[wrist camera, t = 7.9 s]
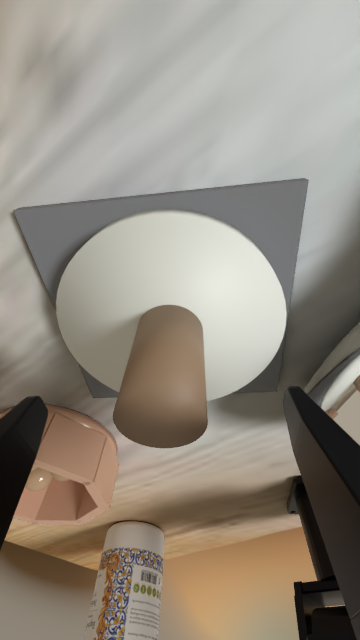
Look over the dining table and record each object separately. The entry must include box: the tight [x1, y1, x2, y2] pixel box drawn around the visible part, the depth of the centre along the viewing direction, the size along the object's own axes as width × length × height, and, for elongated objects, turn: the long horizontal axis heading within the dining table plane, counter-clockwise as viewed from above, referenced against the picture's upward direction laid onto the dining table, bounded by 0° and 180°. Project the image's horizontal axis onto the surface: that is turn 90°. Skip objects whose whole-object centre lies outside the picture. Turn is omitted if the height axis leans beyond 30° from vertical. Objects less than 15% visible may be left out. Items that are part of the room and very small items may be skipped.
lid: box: [56, 209, 287, 448], centre depth 12 cm, size 11×11×6 cm
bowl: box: [0, 404, 119, 525], centre depth 21 cm, size 10×10×4 cm
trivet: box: [13, 178, 308, 398], centre depth 15 cm, size 12×12×1 cm
